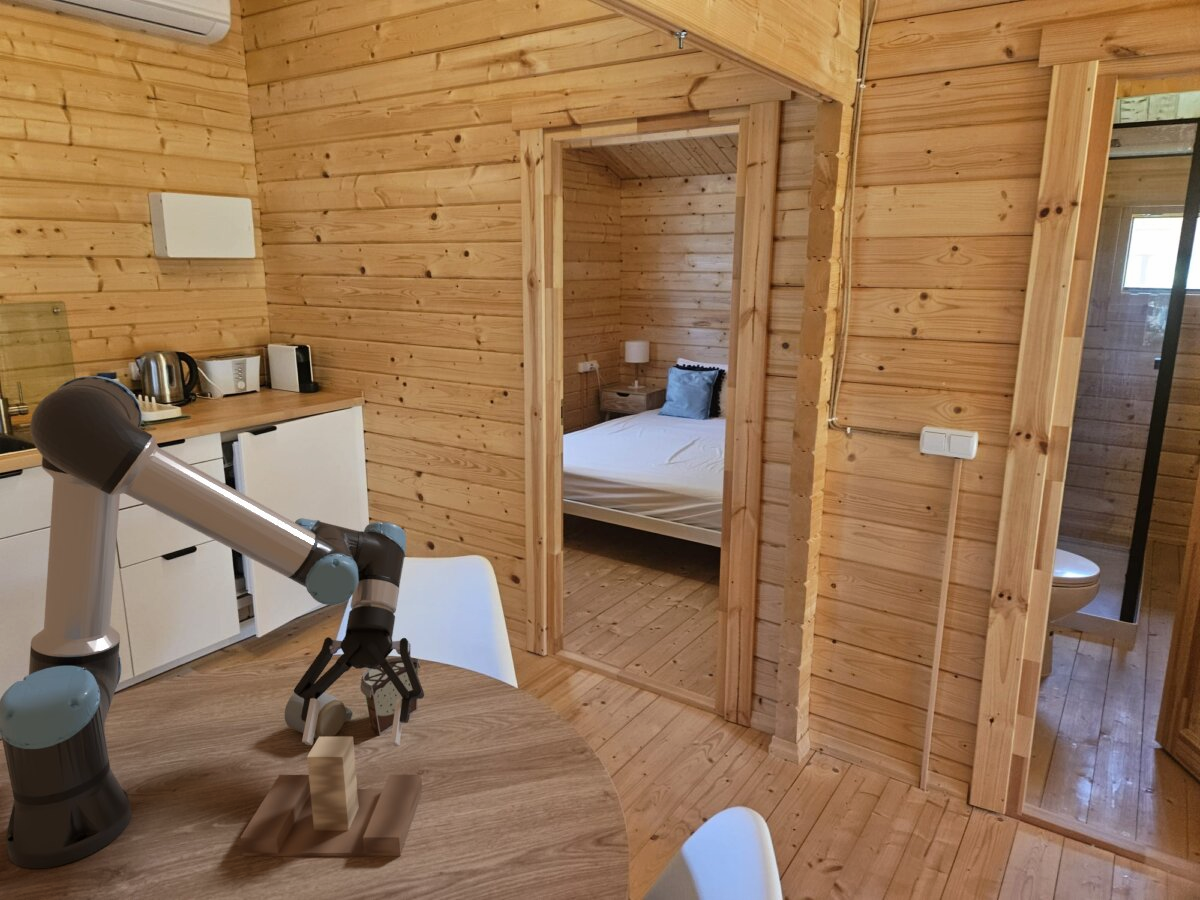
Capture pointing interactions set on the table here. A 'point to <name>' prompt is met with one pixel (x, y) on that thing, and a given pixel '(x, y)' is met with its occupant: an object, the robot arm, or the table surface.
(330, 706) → the ceramic mug
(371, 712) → the food container
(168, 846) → the table surface
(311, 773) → the tall wooden block
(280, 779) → the cradle
